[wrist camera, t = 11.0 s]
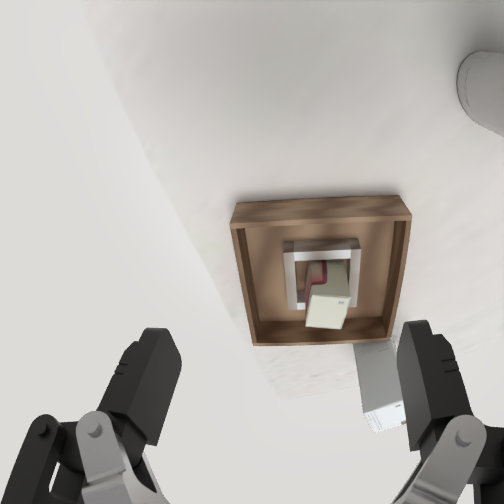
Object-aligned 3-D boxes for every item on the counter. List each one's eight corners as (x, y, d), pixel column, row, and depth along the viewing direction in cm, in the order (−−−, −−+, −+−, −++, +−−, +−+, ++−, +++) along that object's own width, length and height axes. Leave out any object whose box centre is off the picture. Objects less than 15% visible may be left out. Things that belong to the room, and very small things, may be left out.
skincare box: (349, 327, 47) (358, 412, 34) (386, 314, 45) (406, 399, 32) (362, 357, 50) (371, 435, 38) (396, 346, 48) (412, 424, 36)
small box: (309, 251, 39) (311, 294, 33) (343, 254, 39) (351, 297, 32) (303, 283, 42) (304, 327, 35) (336, 286, 42) (341, 330, 35)
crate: (399, 195, 34) (412, 215, 30) (383, 315, 45) (389, 340, 41) (237, 203, 38) (229, 223, 33) (256, 320, 48) (253, 345, 44)
